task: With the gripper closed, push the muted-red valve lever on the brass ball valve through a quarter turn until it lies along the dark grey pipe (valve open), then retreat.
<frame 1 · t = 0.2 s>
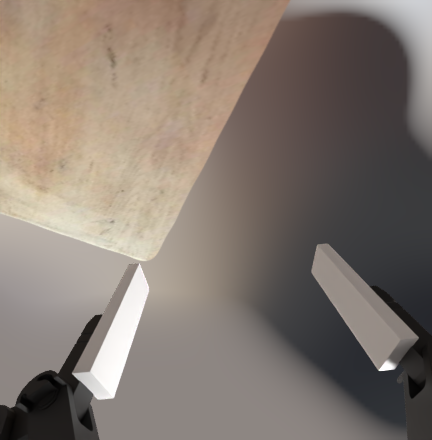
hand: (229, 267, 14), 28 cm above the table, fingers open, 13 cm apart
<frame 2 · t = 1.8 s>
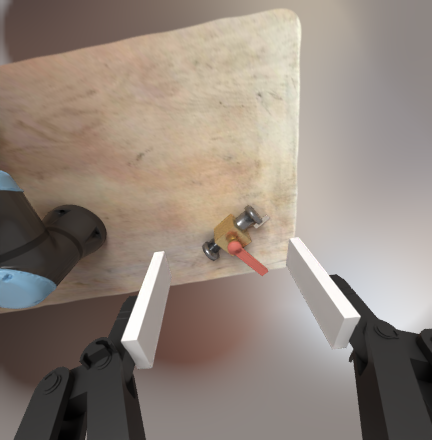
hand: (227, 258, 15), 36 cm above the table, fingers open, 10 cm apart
lever: (248, 258, 49), point 10 cm above the table, hinge at -90.0°
valve: (230, 228, 56), on the table
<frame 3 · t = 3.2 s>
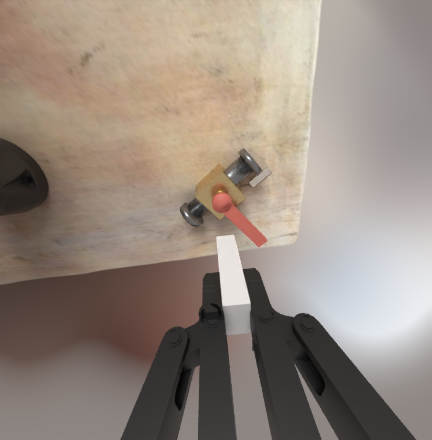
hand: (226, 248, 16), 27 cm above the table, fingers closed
lever: (240, 221, 35), point 10 cm above the table, hinge at -90.0°
valve: (218, 185, 42), on the table
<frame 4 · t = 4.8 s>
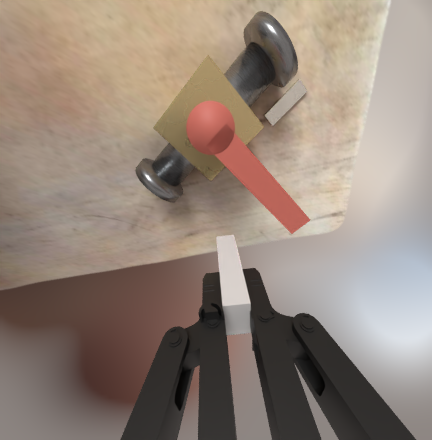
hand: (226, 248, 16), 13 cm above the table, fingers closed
lever: (254, 176, 16), point 10 cm above the table, hinge at -90.0°
valve: (207, 124, 23), on the table
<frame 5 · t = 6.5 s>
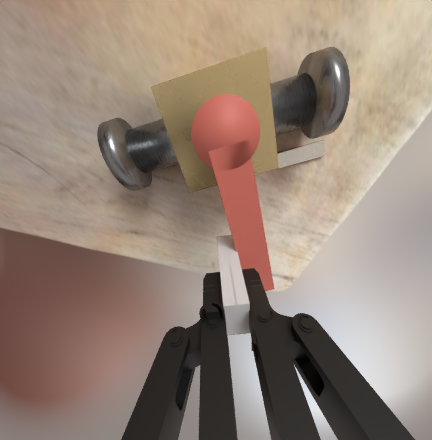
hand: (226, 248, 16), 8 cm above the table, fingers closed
lever: (243, 217, 13), point 10 cm above the table, hinge at -90.0°, touching gripper
valve: (216, 127, 19), on the table
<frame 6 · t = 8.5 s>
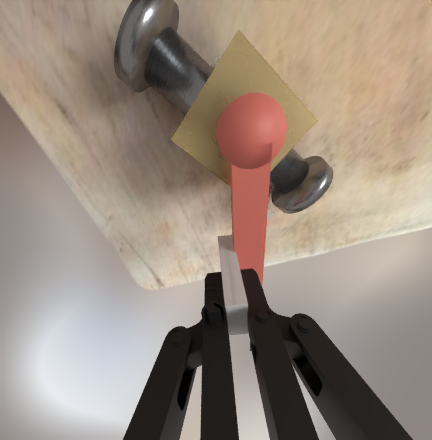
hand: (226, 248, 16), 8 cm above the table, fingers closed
lever: (248, 218, 13), point 10 cm above the table, hinge at -47.6°, touching gripper
valve: (232, 125, 18), on the table
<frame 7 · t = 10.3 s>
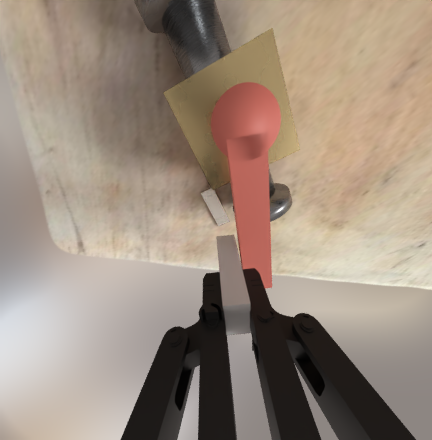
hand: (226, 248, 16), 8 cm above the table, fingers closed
lever: (251, 211, 13), point 10 cm above the table, hinge at -15.6°
valve: (227, 121, 18), on the table
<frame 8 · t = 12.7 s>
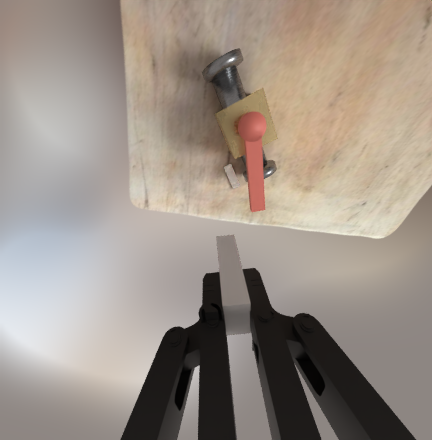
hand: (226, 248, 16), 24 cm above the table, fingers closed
lever: (254, 166, 27), point 10 cm above the table, hinge at -15.6°
valve: (240, 124, 33), on the table
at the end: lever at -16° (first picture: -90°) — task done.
